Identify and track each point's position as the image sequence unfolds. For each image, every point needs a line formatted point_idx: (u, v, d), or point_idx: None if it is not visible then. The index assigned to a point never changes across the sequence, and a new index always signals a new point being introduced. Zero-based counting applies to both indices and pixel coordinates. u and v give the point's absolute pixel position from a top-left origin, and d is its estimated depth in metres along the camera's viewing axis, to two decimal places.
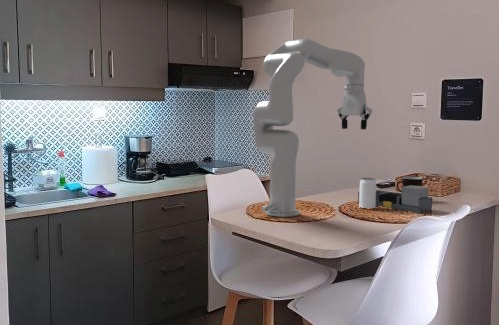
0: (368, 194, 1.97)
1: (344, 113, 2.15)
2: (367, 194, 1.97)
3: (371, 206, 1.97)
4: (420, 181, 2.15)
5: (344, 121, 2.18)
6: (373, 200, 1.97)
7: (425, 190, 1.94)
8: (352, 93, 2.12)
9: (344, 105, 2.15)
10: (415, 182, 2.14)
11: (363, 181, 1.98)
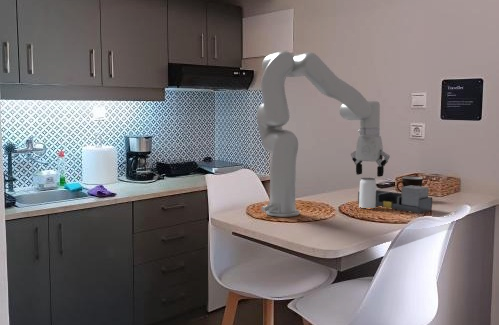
0: (368, 194, 1.97)
1: (359, 158, 1.99)
2: (367, 194, 1.97)
3: (371, 206, 1.97)
4: (420, 181, 2.15)
5: (359, 166, 2.02)
6: (373, 200, 1.97)
7: (425, 190, 1.94)
8: (367, 137, 1.95)
9: (358, 149, 1.99)
10: (415, 182, 2.14)
11: (363, 181, 1.98)
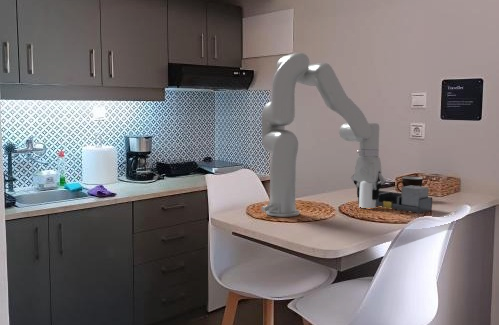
0: (368, 194, 1.97)
1: (357, 179, 2.00)
2: (367, 194, 1.97)
3: (371, 206, 1.97)
4: (420, 181, 2.15)
5: None
6: (373, 200, 1.97)
7: (425, 190, 1.94)
8: (366, 159, 1.96)
9: (357, 170, 2.00)
10: (415, 182, 2.14)
11: (363, 181, 1.98)
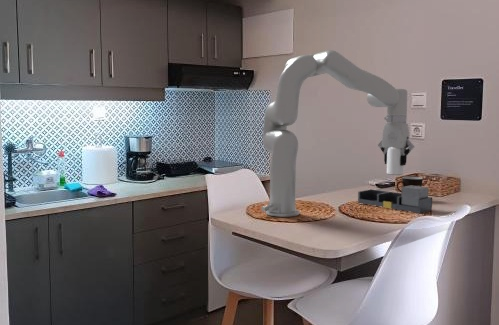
0: (396, 159, 1.98)
1: (385, 145, 2.01)
2: (395, 159, 1.98)
3: (399, 172, 1.99)
4: (420, 181, 2.15)
5: None
6: (401, 166, 1.99)
7: (425, 190, 1.94)
8: (394, 124, 1.97)
9: (384, 136, 2.01)
10: (415, 182, 2.14)
11: (391, 147, 1.99)
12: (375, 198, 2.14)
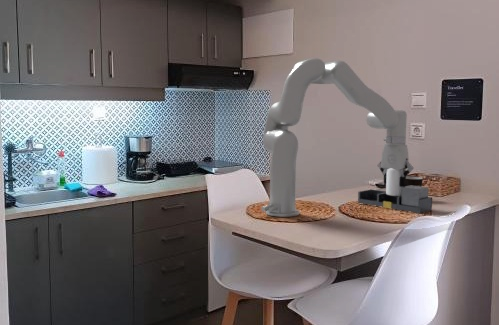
0: (396, 181, 1.99)
1: (384, 166, 2.02)
2: (394, 180, 1.99)
3: (398, 193, 1.99)
4: (420, 181, 2.15)
5: None
6: (400, 187, 2.00)
7: (425, 190, 1.94)
8: (393, 146, 1.98)
9: (384, 157, 2.02)
10: (415, 182, 2.14)
11: (390, 168, 2.00)
12: (375, 198, 2.14)
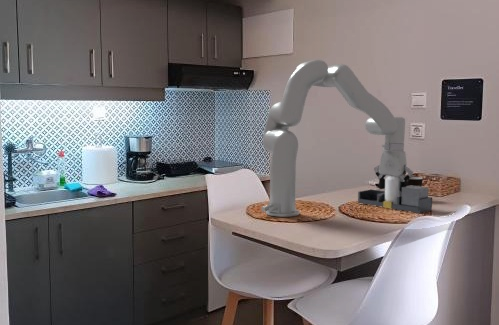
0: (394, 190, 1.99)
1: (382, 172, 2.02)
2: (393, 190, 1.99)
3: None
4: (420, 181, 2.15)
5: (382, 181, 2.05)
6: (399, 196, 2.00)
7: (425, 190, 1.94)
8: (392, 152, 1.99)
9: (382, 163, 2.02)
10: (415, 182, 2.14)
11: (389, 177, 2.00)
12: (375, 198, 2.14)
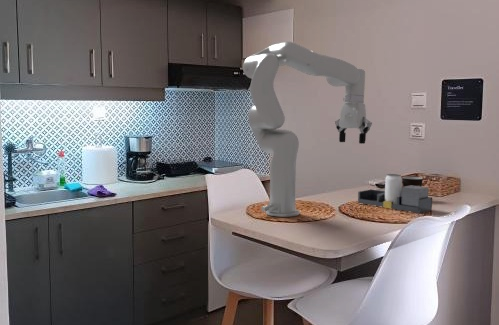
0: (394, 190, 1.99)
1: (342, 125, 2.02)
2: (393, 190, 1.99)
3: None
4: (420, 181, 2.15)
5: (342, 134, 2.04)
6: (399, 196, 2.00)
7: (425, 190, 1.94)
8: (351, 104, 1.98)
9: (342, 116, 2.02)
10: (415, 182, 2.14)
11: (389, 177, 2.00)
12: (375, 198, 2.14)
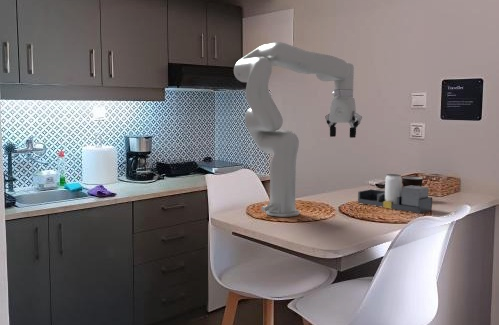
0: (394, 190, 1.99)
1: (332, 120, 2.02)
2: (393, 190, 1.99)
3: None
4: (420, 181, 2.15)
5: (332, 128, 2.04)
6: (399, 196, 2.00)
7: (425, 190, 1.94)
8: (340, 99, 1.98)
9: (332, 111, 2.02)
10: (415, 182, 2.14)
11: (389, 177, 2.00)
12: (375, 198, 2.14)
